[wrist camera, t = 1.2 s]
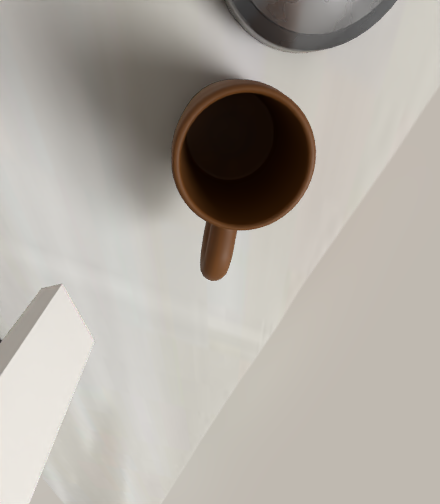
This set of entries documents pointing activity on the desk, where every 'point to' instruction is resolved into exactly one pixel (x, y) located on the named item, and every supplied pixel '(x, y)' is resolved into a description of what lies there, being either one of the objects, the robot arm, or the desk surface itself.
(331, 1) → the grey metal dish
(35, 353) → the robot arm
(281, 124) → the mug
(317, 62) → the desk surface
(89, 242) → the desk surface
